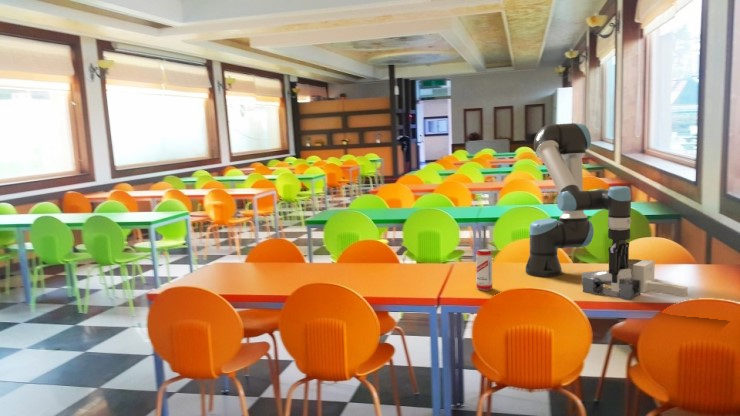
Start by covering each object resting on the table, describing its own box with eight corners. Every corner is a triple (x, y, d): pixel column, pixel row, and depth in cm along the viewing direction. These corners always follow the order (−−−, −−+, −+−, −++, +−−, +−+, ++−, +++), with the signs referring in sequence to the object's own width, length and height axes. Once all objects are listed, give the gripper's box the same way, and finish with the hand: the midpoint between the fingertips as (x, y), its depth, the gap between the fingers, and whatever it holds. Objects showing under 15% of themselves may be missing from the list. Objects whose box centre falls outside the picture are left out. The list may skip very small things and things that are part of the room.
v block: (582, 291, 216) (582, 277, 215) (593, 286, 222) (593, 273, 221) (630, 300, 203) (631, 285, 202) (640, 294, 209) (640, 280, 209)
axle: (583, 286, 218) (580, 273, 218) (588, 283, 221) (586, 271, 221) (629, 283, 205) (626, 270, 205) (634, 280, 208) (632, 267, 208)
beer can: (481, 285, 229) (480, 247, 227) (495, 288, 225) (494, 249, 223) (473, 289, 225) (473, 250, 223) (487, 291, 221) (487, 252, 219)
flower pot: (650, 281, 226) (651, 264, 225) (624, 281, 228) (624, 264, 227) (644, 275, 236) (644, 258, 235) (618, 275, 238) (619, 258, 237)
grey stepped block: (596, 285, 224) (596, 260, 223) (607, 279, 232) (608, 255, 230) (681, 299, 202) (682, 271, 201) (690, 292, 210) (691, 265, 208)
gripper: (619, 232, 199) (618, 296, 201) (639, 225, 211) (638, 285, 214) (598, 230, 204) (598, 293, 207) (618, 224, 216) (618, 282, 219)
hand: (618, 289), depth 210 cm, fingers closed on axle, 5 cm apart
